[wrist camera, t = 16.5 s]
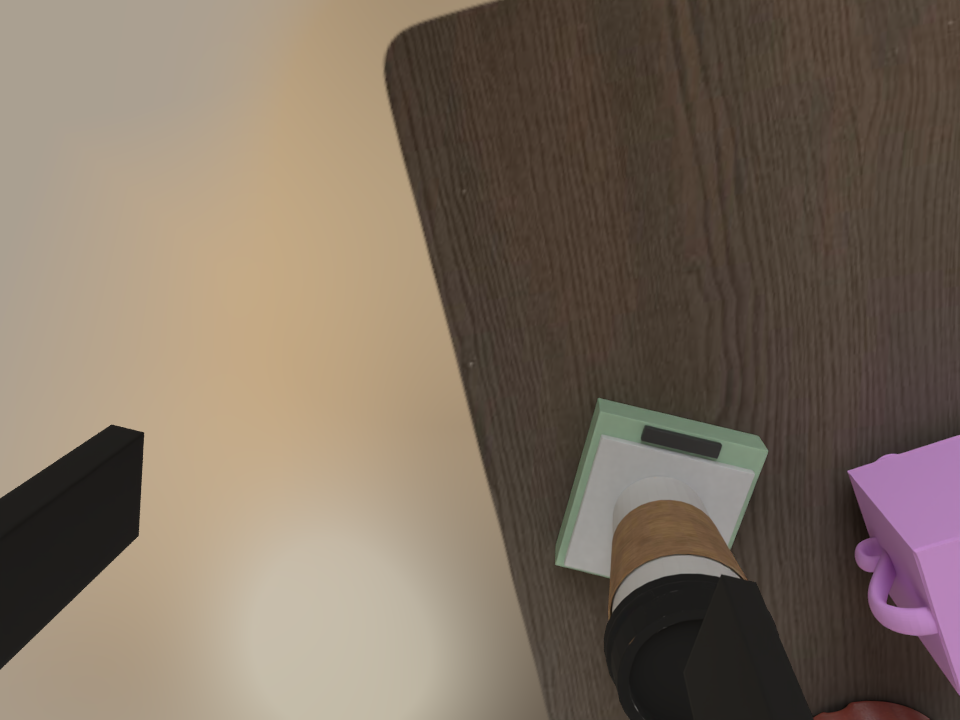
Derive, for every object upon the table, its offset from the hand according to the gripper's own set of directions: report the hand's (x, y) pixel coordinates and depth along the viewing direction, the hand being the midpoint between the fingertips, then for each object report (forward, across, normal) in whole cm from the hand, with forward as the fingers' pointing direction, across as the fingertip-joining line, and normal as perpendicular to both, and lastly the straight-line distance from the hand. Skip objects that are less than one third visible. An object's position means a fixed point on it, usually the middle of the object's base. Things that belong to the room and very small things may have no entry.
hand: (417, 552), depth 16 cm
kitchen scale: (+32, +13, -13) cm, 37 cm away
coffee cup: (+29, +13, -13) cm, 34 cm away
